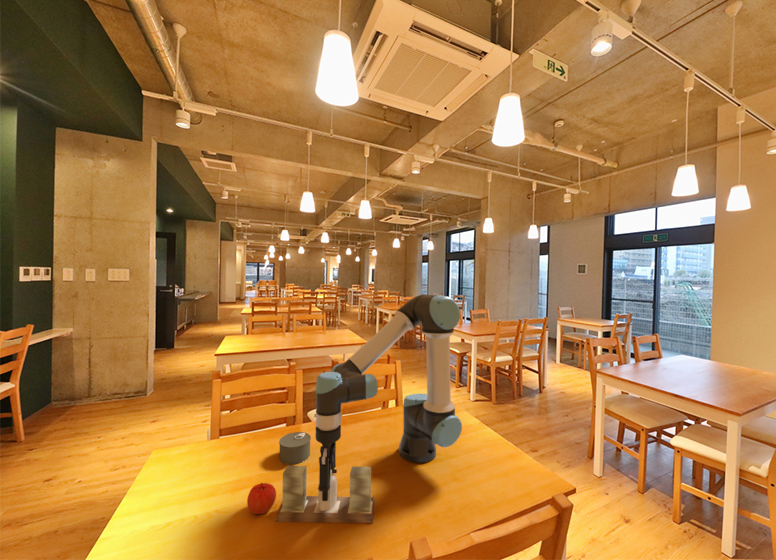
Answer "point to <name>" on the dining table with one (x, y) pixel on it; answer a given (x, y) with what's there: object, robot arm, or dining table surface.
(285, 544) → the dining table surface
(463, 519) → the dining table surface
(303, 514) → the wooden base with posts
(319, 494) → the eye dropper bottle
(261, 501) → the apple
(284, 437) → the can
